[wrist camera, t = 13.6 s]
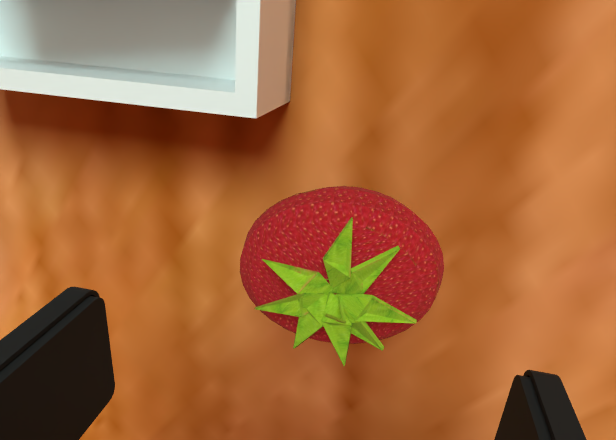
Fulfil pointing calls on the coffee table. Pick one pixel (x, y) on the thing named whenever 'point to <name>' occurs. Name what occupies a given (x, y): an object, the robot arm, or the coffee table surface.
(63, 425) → the robot arm
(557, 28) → the coffee table surface
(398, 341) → the coffee table surface
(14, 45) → the tote
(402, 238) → the strawberry
